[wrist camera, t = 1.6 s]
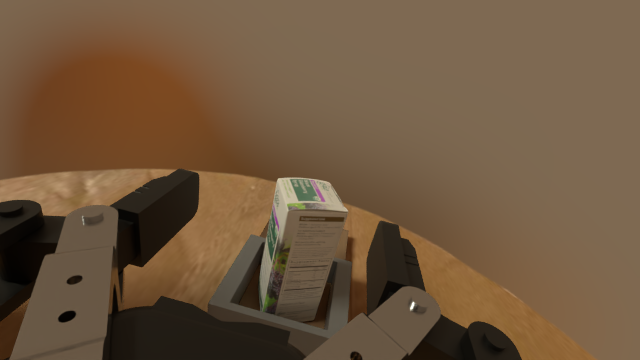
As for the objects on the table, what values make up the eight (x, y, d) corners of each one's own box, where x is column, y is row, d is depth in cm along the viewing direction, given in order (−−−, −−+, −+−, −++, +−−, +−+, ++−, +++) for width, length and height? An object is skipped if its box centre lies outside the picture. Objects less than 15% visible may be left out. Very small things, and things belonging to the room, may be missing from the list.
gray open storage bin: (206, 328, 28) (208, 303, 27) (248, 255, 38) (251, 234, 37) (336, 366, 28) (345, 343, 26) (344, 282, 38) (351, 261, 36)
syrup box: (256, 284, 34) (273, 175, 28) (304, 281, 36) (330, 178, 30) (262, 328, 30) (284, 208, 23) (317, 321, 32) (351, 210, 25)
